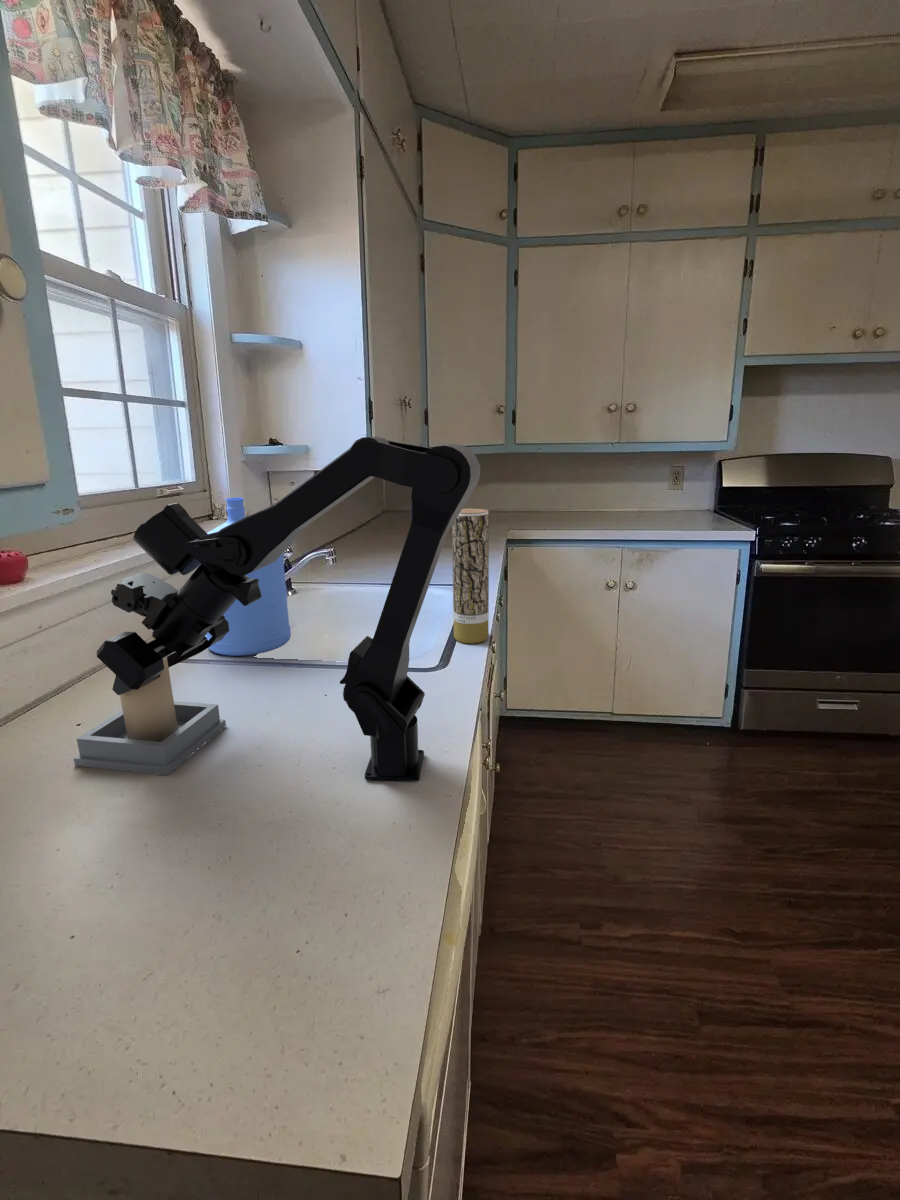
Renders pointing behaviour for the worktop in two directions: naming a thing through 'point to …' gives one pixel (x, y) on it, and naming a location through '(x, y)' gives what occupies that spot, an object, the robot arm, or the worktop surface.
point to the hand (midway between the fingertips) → (135, 680)
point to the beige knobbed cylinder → (150, 709)
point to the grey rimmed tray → (149, 742)
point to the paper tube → (471, 575)
